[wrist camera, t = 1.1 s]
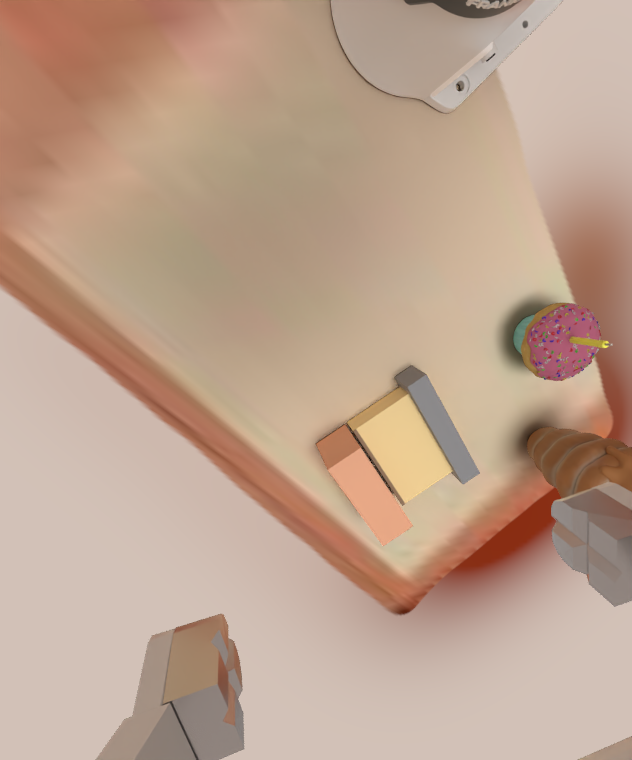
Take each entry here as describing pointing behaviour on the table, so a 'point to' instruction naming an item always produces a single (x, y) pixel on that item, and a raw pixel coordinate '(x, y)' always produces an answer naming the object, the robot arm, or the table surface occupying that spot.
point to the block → (363, 485)
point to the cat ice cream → (579, 460)
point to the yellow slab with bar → (412, 438)
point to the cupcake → (558, 341)
